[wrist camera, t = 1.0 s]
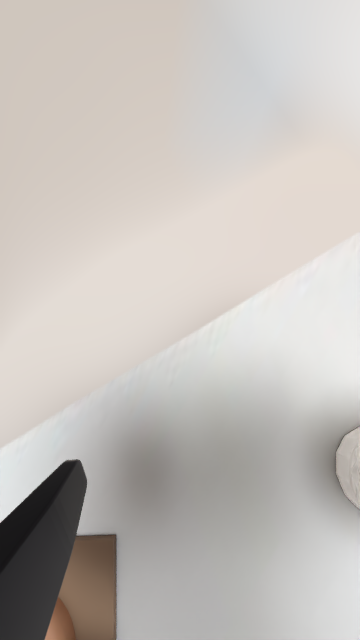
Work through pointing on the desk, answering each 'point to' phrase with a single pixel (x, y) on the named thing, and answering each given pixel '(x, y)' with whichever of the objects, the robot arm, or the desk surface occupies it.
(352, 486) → the white cup
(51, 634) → the terracotta bowl
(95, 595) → the walnut trivet
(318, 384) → the desk surface
